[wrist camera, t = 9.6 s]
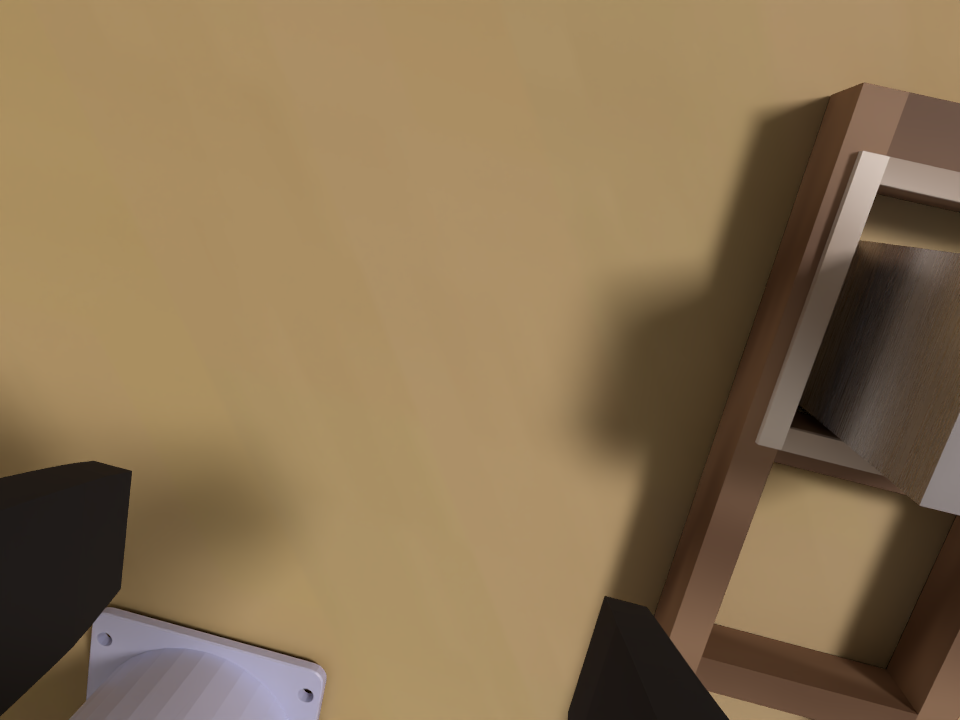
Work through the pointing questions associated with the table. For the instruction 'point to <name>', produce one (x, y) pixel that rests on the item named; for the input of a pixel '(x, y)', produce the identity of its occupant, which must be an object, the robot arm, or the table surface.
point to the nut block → (896, 369)
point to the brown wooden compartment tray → (818, 431)
